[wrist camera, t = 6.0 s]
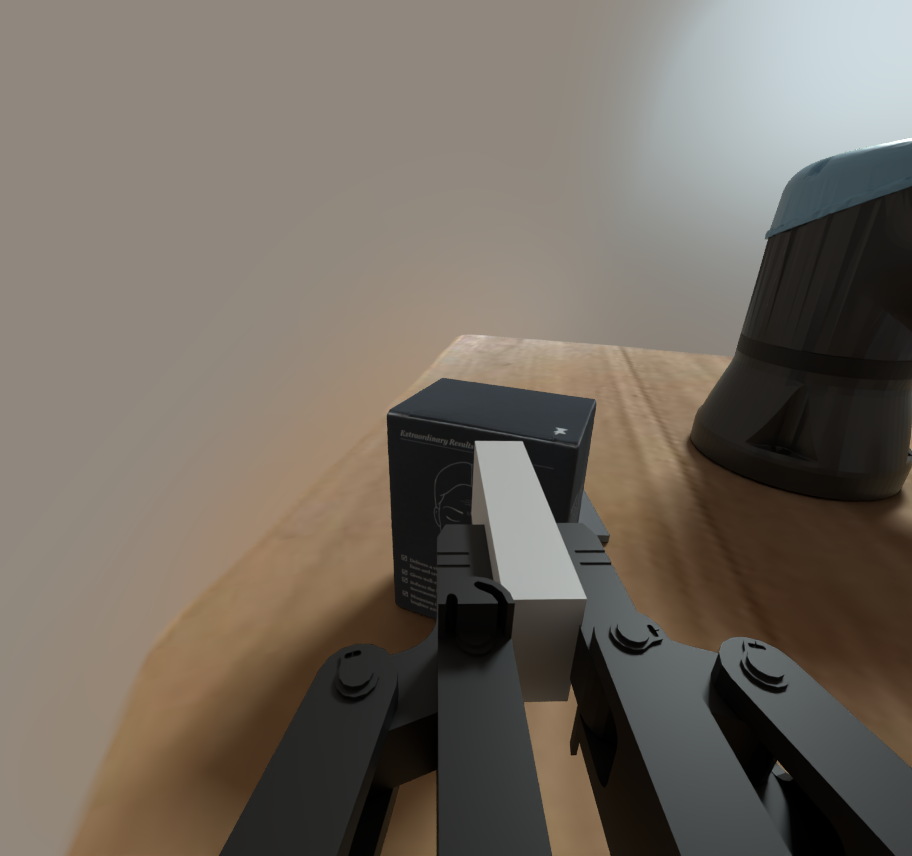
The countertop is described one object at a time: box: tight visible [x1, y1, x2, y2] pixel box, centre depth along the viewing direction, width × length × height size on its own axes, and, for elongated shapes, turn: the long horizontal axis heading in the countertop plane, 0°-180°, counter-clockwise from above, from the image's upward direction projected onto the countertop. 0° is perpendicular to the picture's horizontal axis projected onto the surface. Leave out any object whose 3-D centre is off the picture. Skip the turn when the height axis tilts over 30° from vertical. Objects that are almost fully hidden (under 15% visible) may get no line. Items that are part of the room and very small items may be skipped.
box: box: [387, 378, 596, 620], centre depth 21 cm, size 8×6×11 cm
